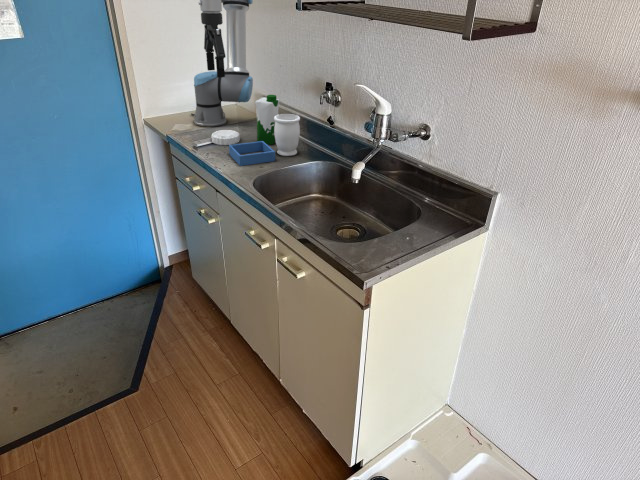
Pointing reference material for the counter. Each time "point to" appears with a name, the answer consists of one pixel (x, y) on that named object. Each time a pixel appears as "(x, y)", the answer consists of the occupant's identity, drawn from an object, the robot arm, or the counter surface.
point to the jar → (287, 133)
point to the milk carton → (266, 118)
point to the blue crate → (254, 158)
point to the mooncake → (225, 137)
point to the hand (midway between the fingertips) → (216, 73)
